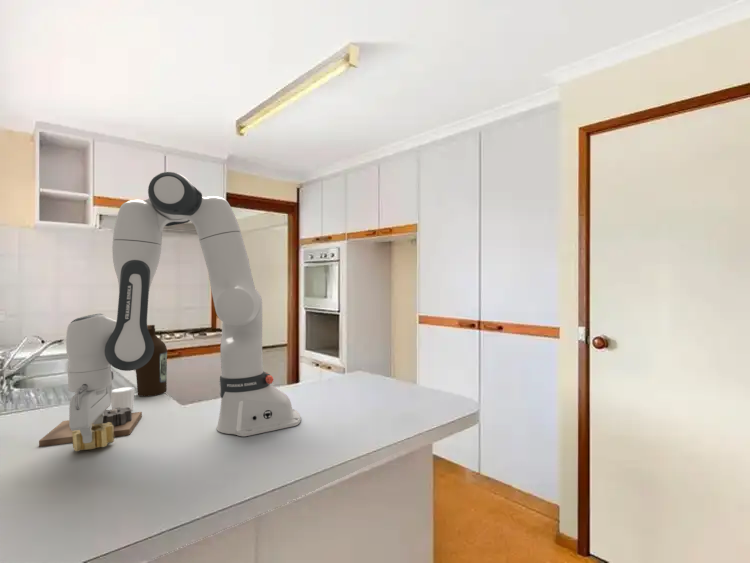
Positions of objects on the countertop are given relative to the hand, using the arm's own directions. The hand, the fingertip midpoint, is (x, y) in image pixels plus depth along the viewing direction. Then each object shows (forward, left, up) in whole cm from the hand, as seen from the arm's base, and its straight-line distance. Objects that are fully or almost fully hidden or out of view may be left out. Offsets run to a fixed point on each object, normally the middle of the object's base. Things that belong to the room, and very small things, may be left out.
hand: (93, 436), depth 103 cm
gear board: (+3, -14, -3) cm, 15 cm away
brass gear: (0, 0, -2) cm, 2 cm away
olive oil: (-5, -52, -3) cm, 52 cm away
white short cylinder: (0, -31, -3) cm, 31 cm away
